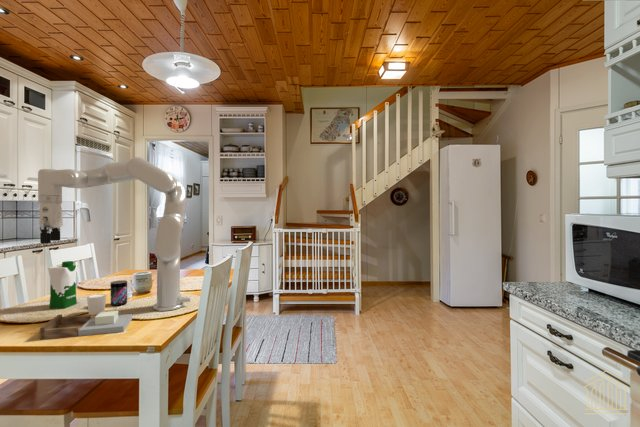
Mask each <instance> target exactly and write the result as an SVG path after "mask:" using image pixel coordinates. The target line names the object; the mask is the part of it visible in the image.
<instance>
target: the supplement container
mask: <svg viewBox="0 0 640 427" xmlns="http://www.w3.org/2000/svg"><path fill="white" fill-rule="evenodd" d="M126 304H128V280H127V279H126V280H125V279H123V280H121V279H120V280H113V281H111V282H110V306H112V307H121V305H122V306H125V305H126Z"/></svg>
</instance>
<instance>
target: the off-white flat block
mask: <svg viewBox="0 0 640 427" xmlns="http://www.w3.org/2000/svg"><path fill="white" fill-rule="evenodd" d="M118 315H119V310H111V311H109V310H108V311H105V312H100V313H99V314H96V316H94V317H95V325H104V324H114V323H115V322H116V320H117V319H118Z"/></svg>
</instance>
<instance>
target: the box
mask: <svg viewBox="0 0 640 427" xmlns="http://www.w3.org/2000/svg"><path fill="white" fill-rule="evenodd" d="M91 318H92V315H91V314H86V315H85V314H83V315H72V316H70V315H69V316H63V314H57V315H56V316H55V317H53V318H52V319H51V320H49V321H48V322H46V323H45V324H43V325H42V326H41V327H40V328H39V329H40V330H39V332H40V333H39V336H40V337H39V338H40V340H49V339H50V340H51V339H60V338H70V337H79V336H78V330H79V329H80V328H79V326H75V325H84V324H85V323H86V322H87V321H88V320H90V319H91ZM73 325H74V326H73ZM65 326H67V327H65Z"/></svg>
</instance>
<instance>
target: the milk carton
mask: <svg viewBox="0 0 640 427" xmlns="http://www.w3.org/2000/svg"><path fill="white" fill-rule="evenodd" d="M78 266H79V265H78V264H74V261H73V260H69V261H67V260H66V261H62V264H60V265H55V266H51V267H47V270H48V274H49V277H50V279H49V283H50V284H49V288H50V294H49V295H50V297H49V306H48V307H49V309H67V308H69V307H72V306H74V305H77V304H78V303H77V302H78V300H77V271H78Z"/></svg>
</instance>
